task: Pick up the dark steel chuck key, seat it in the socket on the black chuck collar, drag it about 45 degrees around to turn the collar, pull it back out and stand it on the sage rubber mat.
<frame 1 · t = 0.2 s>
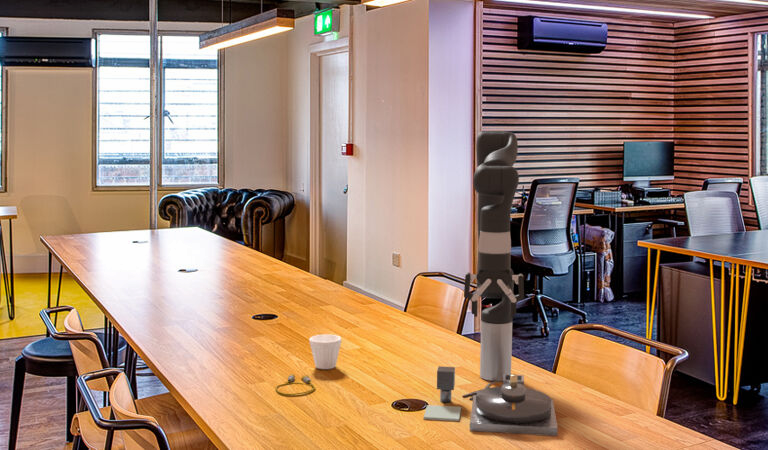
hand: (493, 316, 188), 29 cm above the table, fingers open, 8 cm apart
pliers: (494, 394, 221), on the table
drill stand: (512, 418, 200), on the table
chuck key: (445, 401, 213), on the table
olive earphones: (297, 389, 225), on the table
cup: (325, 367, 244), on the table
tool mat: (442, 414, 203), on the table
chuck collar: (513, 391, 200), point 7 cm above the table, hinge at 0.0°
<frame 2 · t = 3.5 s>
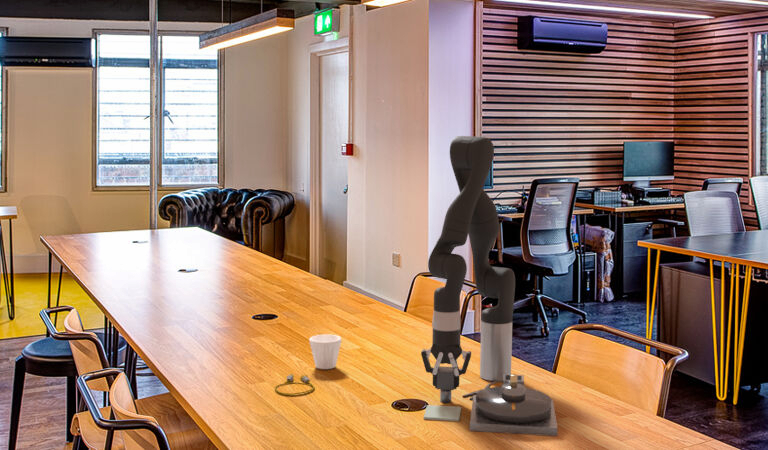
hand: (445, 387, 212), 4 cm above the table, fingers closed on chuck key, 4 cm apart
chuck key: (445, 401, 213), on the table, touching gripper
everything else where it was.
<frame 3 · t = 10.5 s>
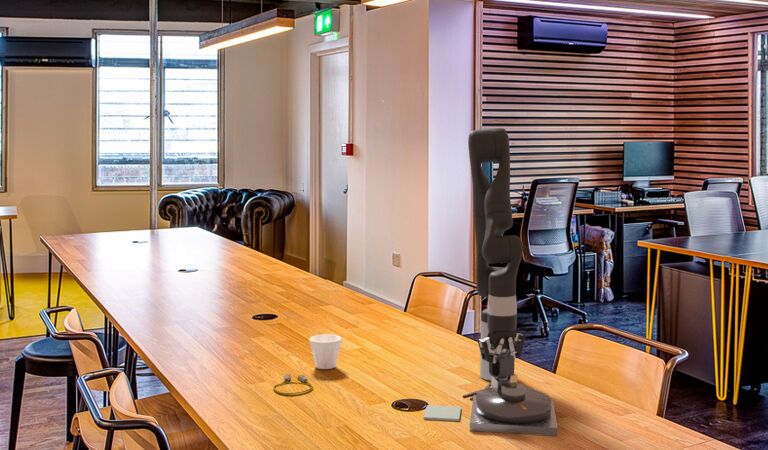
hand: (501, 374, 207), 9 cm above the table, fingers closed on chuck key, 4 cm apart
chuck key: (502, 388, 207), point 5 cm above the table, touching chuck collar, gripper
chuck collar: (513, 391, 200), point 7 cm above the table, hinge at 18.5°, touching chuck key
everything else where it was.
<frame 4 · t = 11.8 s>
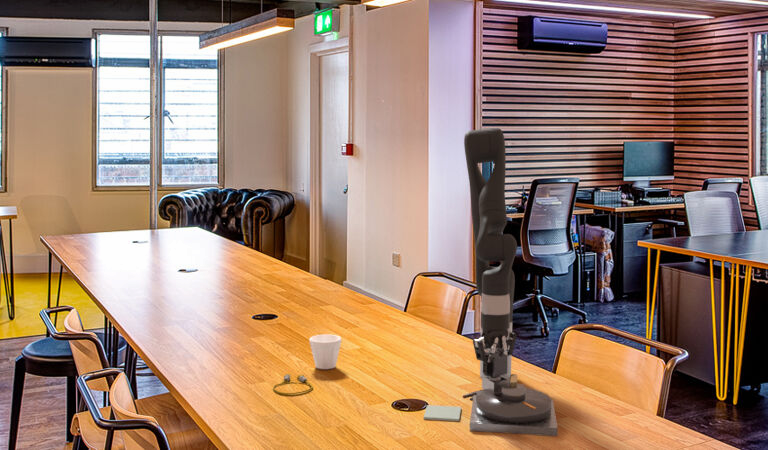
hand: (494, 373, 206), 10 cm above the table, fingers closed on chuck key, 4 cm apart
chuck key: (494, 387, 206), point 6 cm above the table, touching chuck collar, gripper
chuck collar: (512, 391, 200), point 7 cm above the table, hinge at 35.7°, touching chuck key
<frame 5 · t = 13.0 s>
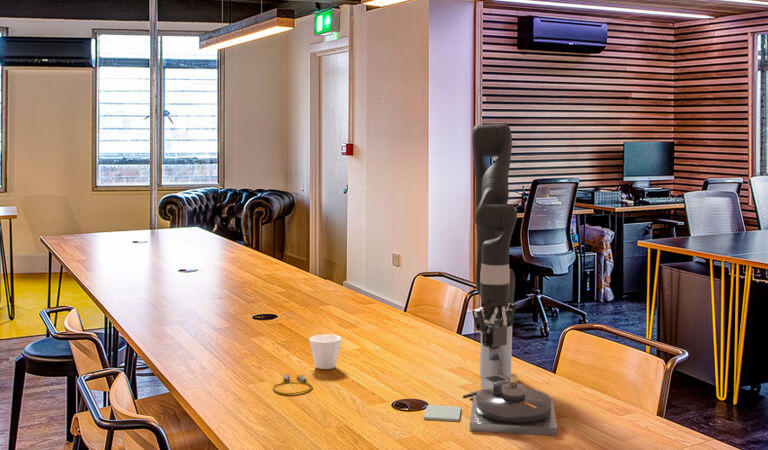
hand: (494, 344, 204), 18 cm above the table, fingers closed on chuck key, 4 cm apart
chuck key: (494, 358, 205), point 14 cm above the table, touching gripper
chuck collar: (512, 391, 200), point 7 cm above the table, hinge at 38.2°
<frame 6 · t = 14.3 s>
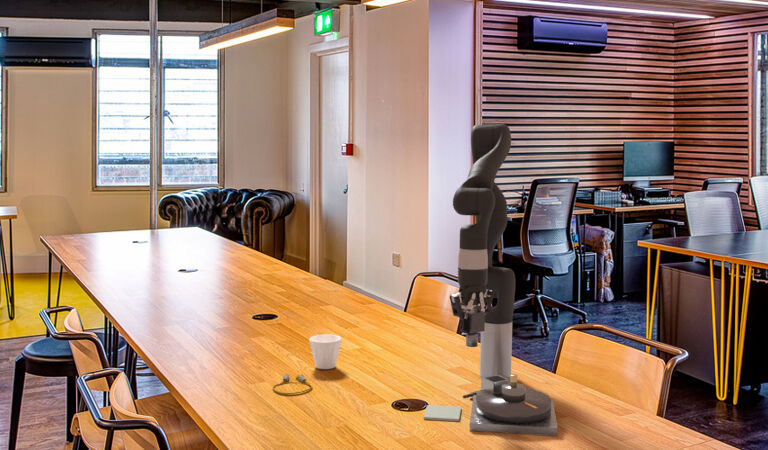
hand: (471, 331, 202), 22 cm above the table, fingers closed on chuck key, 4 cm apart
chuck key: (471, 345, 202), point 18 cm above the table, touching gripper
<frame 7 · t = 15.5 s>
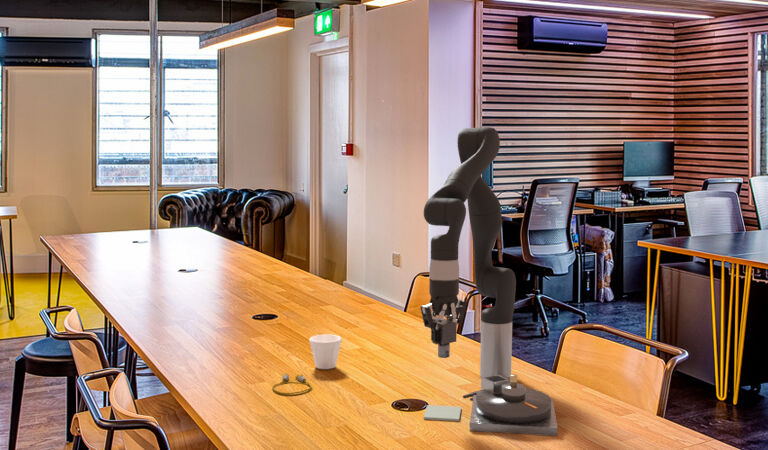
hand: (443, 341, 201), 19 cm above the table, fingers closed on chuck key, 4 cm apart
chuck key: (443, 356, 201), point 15 cm above the table, touching gripper
when the fingers open (5 cm above the table, at t = 18.2 s): chuck key stays where it is, resting on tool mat.
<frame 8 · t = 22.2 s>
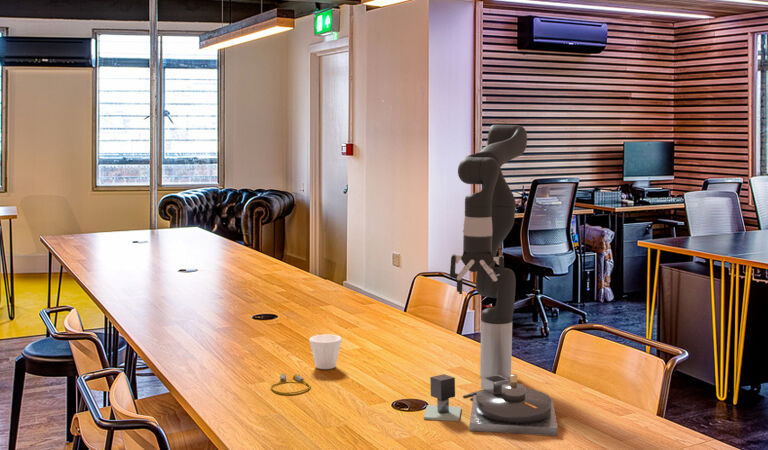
hand: (476, 294, 207), 30 cm above the table, fingers open, 8 cm apart
chuck key: (443, 411, 203), point 1 cm above the table, touching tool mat
at the end: chuck collar at +38° (first picture: +0°); chuck key 0.1 cm off-centre on the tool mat, point 0.7 cm above the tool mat's base; chuck key tilted 3° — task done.
